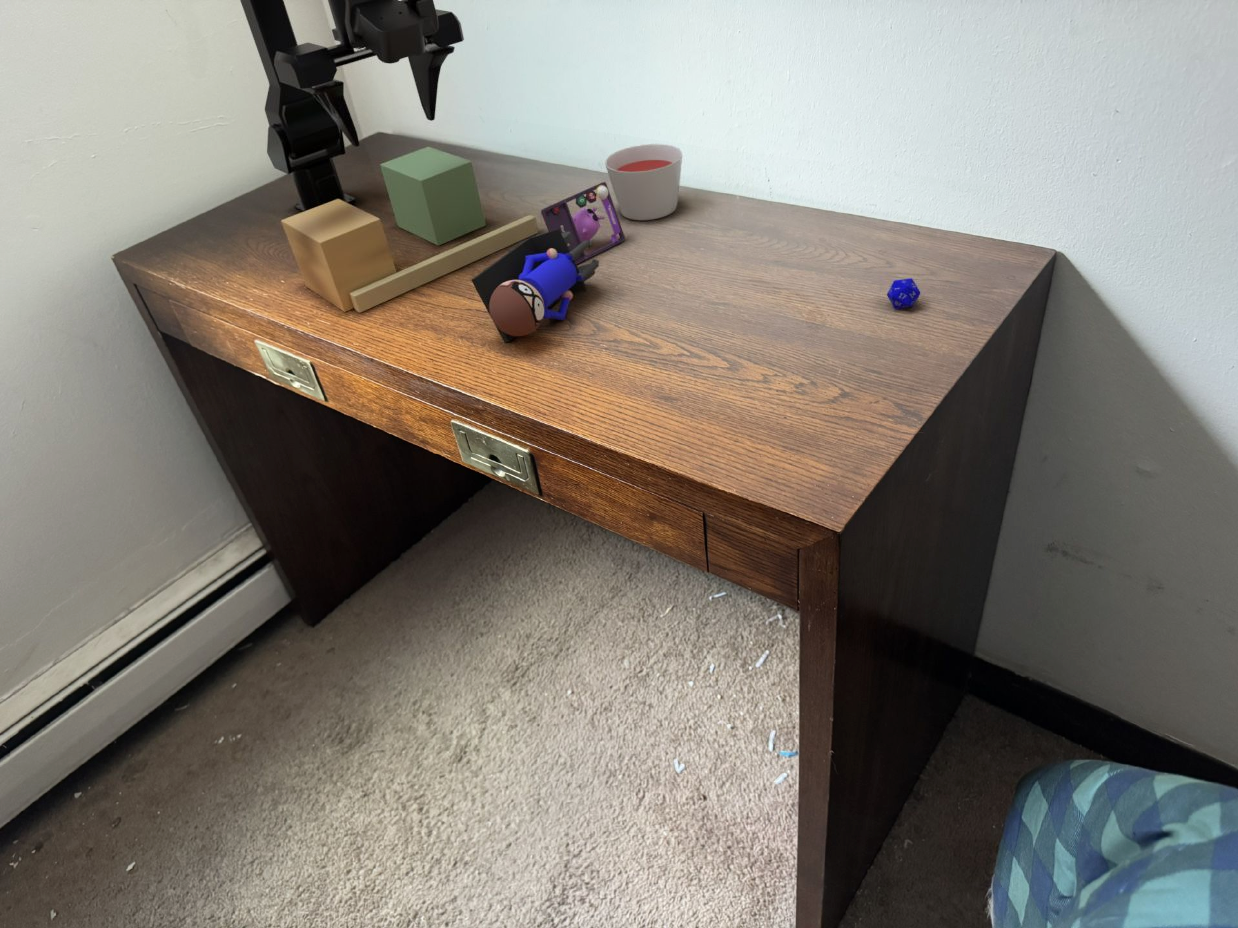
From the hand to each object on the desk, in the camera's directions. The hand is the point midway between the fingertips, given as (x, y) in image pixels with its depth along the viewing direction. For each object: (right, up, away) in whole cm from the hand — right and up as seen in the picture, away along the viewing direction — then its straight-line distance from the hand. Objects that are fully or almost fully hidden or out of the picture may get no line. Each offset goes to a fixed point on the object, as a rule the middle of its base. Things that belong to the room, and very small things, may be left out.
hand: (394, 132), depth 93 cm
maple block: (-6, -16, +4) cm, 17 cm away
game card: (+20, -12, +5) cm, 24 cm away
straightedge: (+5, -14, +5) cm, 15 cm away
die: (+50, -21, -13) cm, 56 cm away
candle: (+28, -5, +11) cm, 30 cm away
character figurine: (+17, -21, -7) cm, 28 cm away
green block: (+2, -6, +15) cm, 16 cm away
